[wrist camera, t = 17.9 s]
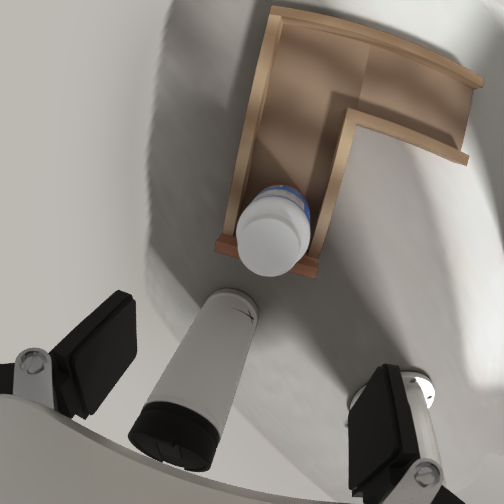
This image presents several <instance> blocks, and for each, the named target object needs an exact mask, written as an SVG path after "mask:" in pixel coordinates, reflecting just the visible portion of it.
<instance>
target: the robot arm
mask: <svg viewBox="0 0 504 504" xmlns="http://www.w3.org/2000/svg"><path fill="white" fill-rule="evenodd" d="M136 335H137V334H136V301H135V300H134V299H133V297H132V295H131V294H128V293H126V292H123V291H120V290H117V291H116V292H114V293H113V294H112V295H111V296H110V297H109V298H108V299H106V300H105V301H104V302H103V303H102V304H101V305H100V306H99V307H98V308H97V309H95V310H94V311H93V312H92V313H91V314H90V315H89V316H87V317H86V318H85V319H84V320H83V321H82V322H81V323H80V324H79V325H78V326H76V327H75V328H74V329H73V330H72V331H71V332H70V333H69V334H68V335H67V336H66V337H65V338H64V339H63V340H62V341H61V342H60V343H59V344H57V346H55V347H54V348H53V349H52V350H51V351H50V352H49V353H47V352H46V351H45V350H43V349H40V348H29V349H26V350H24V351H22V352H21V353H20V354H19V355H18V356H17V358H16V361H15V363H8V364H0V504H349V503H336V502H325V501H315V500H307V499H299V498H292V497H286V496H279V495H274V494H269V493H264V492H259V491H253V490H250V489H245V488H241V487H237V486H233V485H228V484H225V483H221V482H218V481H214V480H211V479H208V478H204V477H201V476H198V475H195V474H192V473H189V472H186V471H183V470H180V469H177V468H174V467H172V466H169V465H166V464H163V463H161V462H158V461H156V460H153V459H151V458H149V457H146V456H144V455H141V454H139V453H137V452H134V451H132V450H130V449H128V448H125V447H123V446H121V445H119V444H117V443H115V442H113V441H111V440H109V439H107V438H105V437H103V436H101V435H99V434H97V433H95V432H93V431H91V430H89V429H88V428H86V427H84V426H82V425H80V424H78V423H77V422H75V421H73V420H72V419H71V418H73V416H74V415H75V414H76V415H78V416H79V417H81V418H83V419H85V420H86V418H87V417H88V415H89V414H90V415H93V414H94V413H95V412H96V411H97V409H98V408H99V406H100V405H101V403H102V402H103V401H104V399H105V398H106V397H107V395H108V394H109V392H110V391H111V390H112V389H113V387H114V386H115V384H116V383H117V382H118V380H119V379H120V377H121V376H122V375H123V373H124V372H125V371H126V370H127V368H128V367H129V365H130V364H131V363H132V361H133V360H134V359H135V357H136V354H137V336H136ZM434 395H435V392H434V387H433V384H432V382H431V381H430V379H429V378H428V377H426V376H425V375H423V374H420V373H416V372H401V371H400V368H399V366H396V365H391V364H383V365H382V367H380V366H379V367H378V368H377V369H376V371H375V372H374V374H373V375H372V377H371V379H370V380H369V382H368V384H367V385H365V386H364V387H363V388H361V389H360V390H359V391H358V392H357V393H356V395H355V396H354V397H353V399H352V401H351V405H350V411H349V415H348V437H349V489H350V490H352V497H363V503H364V504H465V503H464V502H463V501H462V500H460V499H459V498H458V497H457V496H455V495H454V494H453V493H452V492H450V491H449V490H448V489H447V488H446V483H445V478H444V473H443V468H442V463H441V458H440V453H439V449H438V444H437V440H436V436H435V432H434V428H433V424H432V420H431V416H430V413H429V409H428V408H429V407H430V405H431V404H432V402H433V400H434Z"/></svg>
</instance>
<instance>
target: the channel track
mask: <svg viewBox="0 0 504 504" xmlns="http://www.w3.org/2000/svg"><path fill="white" fill-rule="evenodd" d="M483 81H484V78H482V77H481V76H479V75H477V74H476V73H474V72H472V71H470V70H469V69H467V68H465V67H463V66H461V65H459V64H457V63H455V62H454V61H452V60H450V59H448V58H446V57H443V56H441V55H439V54H437V53H435V52H433V51H431V50H428V49H426V48H424V47H422V46H419V45H417V44H415V43H412V42H410V41H407V40H405V39H402V38H399V37H397V36H394V35H391V34H389V33H386V32H383V31H380V30H377V29H374V28H371V27H368V26H365V25H361V24H358V23H354V22H351V21H347V20H344V19H340V18H336V17H332V16H327V15H323V14H319V13H314V12H309V11H304V10H298V9H293V8H287V7H280V6H273V5H272V6H271V10H270V14H269V18H268V22H267V26H266V30H265V34H264V38H263V42H262V46H261V50H260V55H259V59H258V63H257V67H256V72H255V76H254V80H253V85H252V89H251V94H250V98H249V103H248V107H247V112H246V116H245V121H244V126H243V130H242V135H241V140H240V145H239V150H238V154H237V159H236V164H235V169H234V174H233V179H232V184H231V190H230V195H229V200H228V205H227V210H226V216H225V221H224V226H223V232H222V234H221V236H220V237H219V238H218V239H217V240H216V243H215V249H214V252H218V253H221V254H225V255H229V256H232V257H236V258H240V256H239V253H238V242H237V237H236V229H237V224H238V221H239V218H240V216H241V215H242V213H243V212H244V210H245V209H246V208H247V207H248V206H249V204H250V203H251V202H252V201H253V200H254V199H255V197H256V196H257V195H258V194H259V193H260V192H261V191H262V190H264V189H265V188H267V187H270V186H273V185H287V186H290V187H292V188H294V189H296V190H298V191H299V192H300V193H301V194H302V195H303V196H304V198H305V199H306V201H307V203H308V206H309V210H310V241H309V245H308V248H307V250H306V252H305V254H304V255H303V256H302V258H301V259H300V260H299V261H297V262H296V263H295V265H294V266H293V267H292V268H291V269H290V270H289V271H288V272H291V273H295V274H299V275H303V276H306V277H310V278H314V279H315V277H316V274H317V272H318V258H319V255H320V252H321V249H322V246H323V242H324V239H325V236H326V233H327V229H328V226H329V223H330V220H331V216H332V213H333V210H334V206H335V203H336V199H337V196H338V192H339V189H340V185H341V182H342V178H343V174H344V171H345V167H346V163H347V159H348V156H349V152H350V148H351V144H352V140H353V136H354V132H355V128H356V125H358V126H361V127H364V128H367V129H370V130H373V131H376V132H379V133H382V134H385V135H388V136H391V137H393V138H396V139H399V140H401V141H404V142H407V143H409V144H412V145H414V146H417V147H419V148H422V149H424V150H427V151H429V152H431V153H434V154H436V155H438V156H441V157H443V158H445V159H447V160H450V161H452V162H454V163H458V164H462V165H465V166H467V163H468V160H469V155H467V154H465V153H463V152H461V148H462V144H463V139H464V135H465V130H466V126H467V121H468V116H469V110H470V105H471V99H472V93H473V89H477V88H482V87H483Z"/></svg>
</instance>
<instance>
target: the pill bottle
mask: <svg viewBox="0 0 504 504" xmlns="http://www.w3.org/2000/svg"><path fill="white" fill-rule="evenodd" d="M236 237H237V242H238V253H239V256H240V259H241V261H242V262H243V264H244V265H245V266H246V267H247V268H248V269H249V270H251V271H252V272H254V273H256V274H258V275H261V276H266V277H274V276H279V275H282V274H284V273H286V272H287V271H289V270H290V269H291V268H292V267H293V266H294V265H295V263H296V262H297V261H299V260H300V259H301V258H302V256H303V255H304V254H305V252H306V250H307V248H308V245H309V241H310V210H309V206H308V203H307V201H306V199H305V198H304V196H303V195H302V194H301V193H300V192H299V191H298V190H296V189H294V188H292V187H290V186H287V185H273V186H270V187H267V188H265V189H264V190H262V191H261V192H260V193H259V194H258V195H257V196H256V197H255V199H254V200H253V201H252V202H251V203H250V204H249V206H248V207H247V208H246V209H245V210H244V212H243V213H242V215H241V216H240V218H239V221H238V224H237V229H236Z"/></svg>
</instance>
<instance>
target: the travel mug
mask: <svg viewBox="0 0 504 504" xmlns="http://www.w3.org/2000/svg"><path fill="white" fill-rule="evenodd" d="M257 321H258V309H257V307H256V304H255V303H254V301H253V300H252V299H251V298H250V297H249V296H248V295H246V294H245V293H243V292H241V291H239V290H235V289H228V288H227V289H220V290H217V291H215V292H213V293H212V294H211V295H210V296H209V297H208V299H207V300H206V302H205V304H204V306H203V307H202V309H201V310H200V312H199V314H198V315H197V317H196V319H195V320H194V322H193V324H192V325H191V327H190V329H189V330H188V332H187V334H186V335H185V337H184V339H183V340H182V342H181V344H180V345H179V347H178V349H177V350H176V352H175V354H174V356H173V357H172V359H171V360H170V362H169V364H168V365H167V367H166V369H165V371H164V372H163V374H162V376H161V377H160V379H159V381H158V382H157V384H156V386H155V388H154V389H153V391H152V393H151V394H150V396H149V398H148V399H147V402H146V403H145V405H144V406H143V409H142V411H141V413H140V415H139V417H138V418H137V420H136V421H135V423H134V425H133V427H132V429H131V430H130V432H129V434H128V439H129V440H130V442H131V443H132V444H133V445H134V446H135V447H136V448H137V449H138V450H140V451H141V452H143V453H144V454H146V455H147V456H149V457H151V458H153V459H155V460H157V461H159V462H163V461H165V462H167V463H170V464H172V465H175V466H179V467H184V470H187V471H192V472H204V471H208V470H209V469H210V467H211V464H212V461H213V458H214V455H215V452H216V448H217V446H218V443H219V442H220V439H221V436H222V433H223V430H224V427H225V424H226V421H227V418H228V415H229V411H230V408H231V405H232V402H233V399H234V396H235V393H236V390H237V386H238V383H239V380H240V377H241V374H242V370H243V367H244V364H245V361H246V357H247V354H248V351H249V347H250V344H251V341H252V338H253V334H254V331H255V328H256V324H257Z"/></svg>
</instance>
